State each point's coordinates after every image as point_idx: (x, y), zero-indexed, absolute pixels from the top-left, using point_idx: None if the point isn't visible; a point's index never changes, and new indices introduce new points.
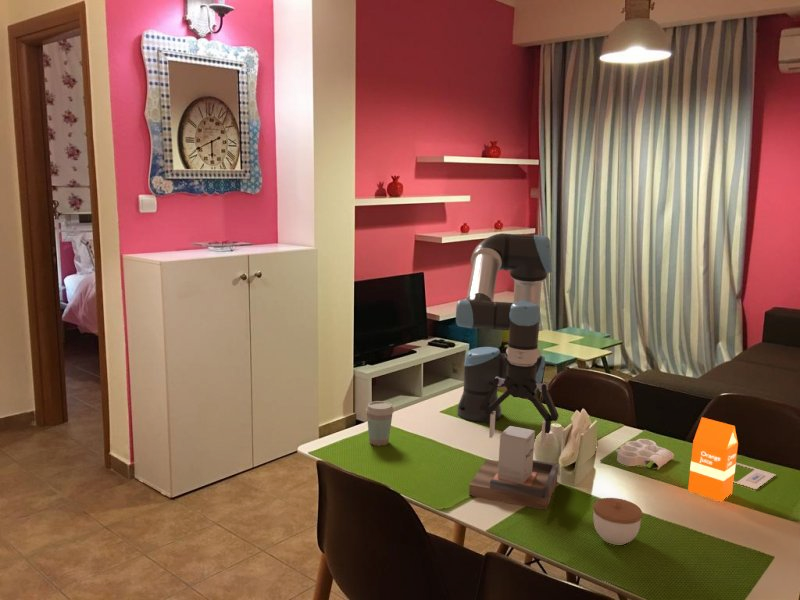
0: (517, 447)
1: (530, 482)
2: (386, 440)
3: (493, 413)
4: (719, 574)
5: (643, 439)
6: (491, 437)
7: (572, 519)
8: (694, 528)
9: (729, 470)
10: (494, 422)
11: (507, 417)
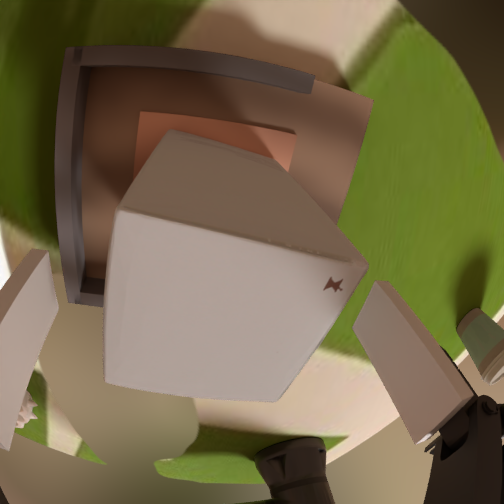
0: (206, 185)
1: (142, 160)
2: (467, 322)
3: (447, 416)
4: None
5: (16, 426)
6: (379, 281)
7: (27, 34)
8: None
9: None
10: (392, 377)
11: (243, 457)
